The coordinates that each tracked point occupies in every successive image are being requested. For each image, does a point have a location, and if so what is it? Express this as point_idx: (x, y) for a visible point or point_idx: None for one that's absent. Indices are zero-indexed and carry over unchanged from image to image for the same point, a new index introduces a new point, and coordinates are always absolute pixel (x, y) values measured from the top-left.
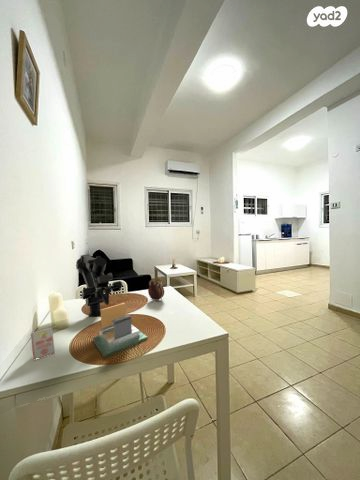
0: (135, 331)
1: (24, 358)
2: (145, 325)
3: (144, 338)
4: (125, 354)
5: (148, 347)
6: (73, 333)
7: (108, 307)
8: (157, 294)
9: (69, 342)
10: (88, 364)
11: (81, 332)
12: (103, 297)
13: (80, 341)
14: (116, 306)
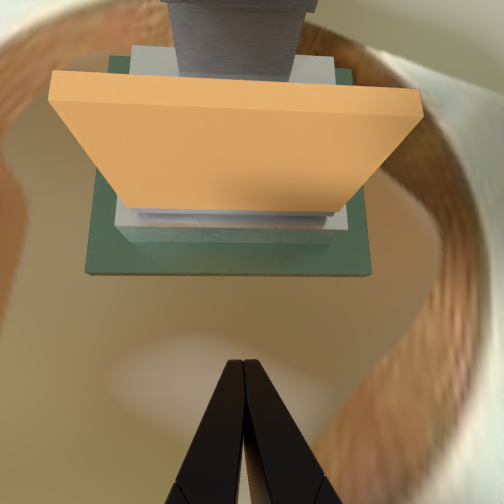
0: (156, 50)
1: None
2: (14, 205)
3: (128, 58)
4: None
5: (153, 10)
6: (470, 490)
7: (314, 104)
8: None
9: (492, 360)
10: (413, 87)
11: (417, 459)
12: (323, 489)
13: (431, 320)
14: (203, 85)
